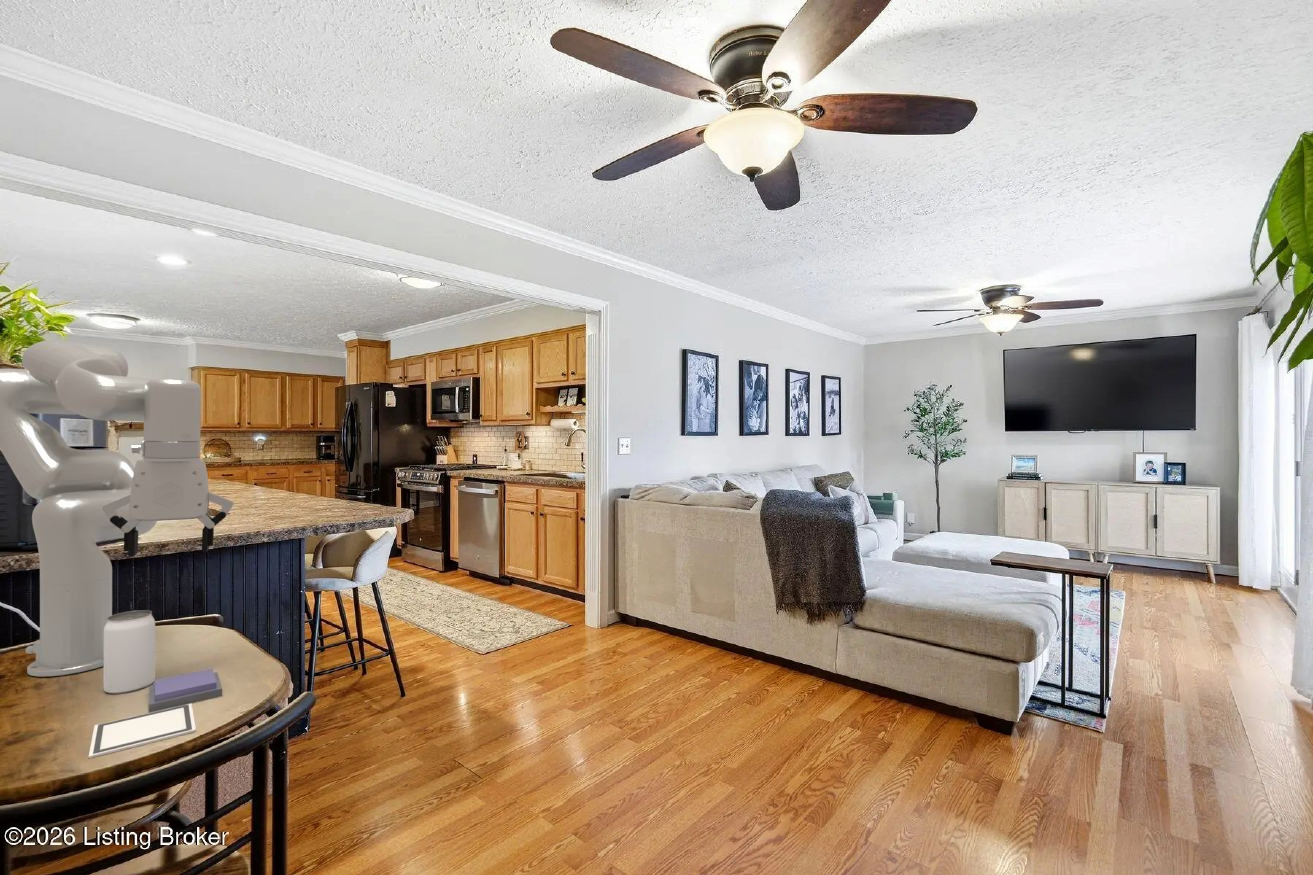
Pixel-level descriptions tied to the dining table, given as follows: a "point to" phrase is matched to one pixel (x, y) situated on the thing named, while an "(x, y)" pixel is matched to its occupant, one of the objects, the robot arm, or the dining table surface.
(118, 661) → the can
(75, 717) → the dining table surface
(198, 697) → the ink pad
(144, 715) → the marked card
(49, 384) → the robot arm
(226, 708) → the dining table surface
